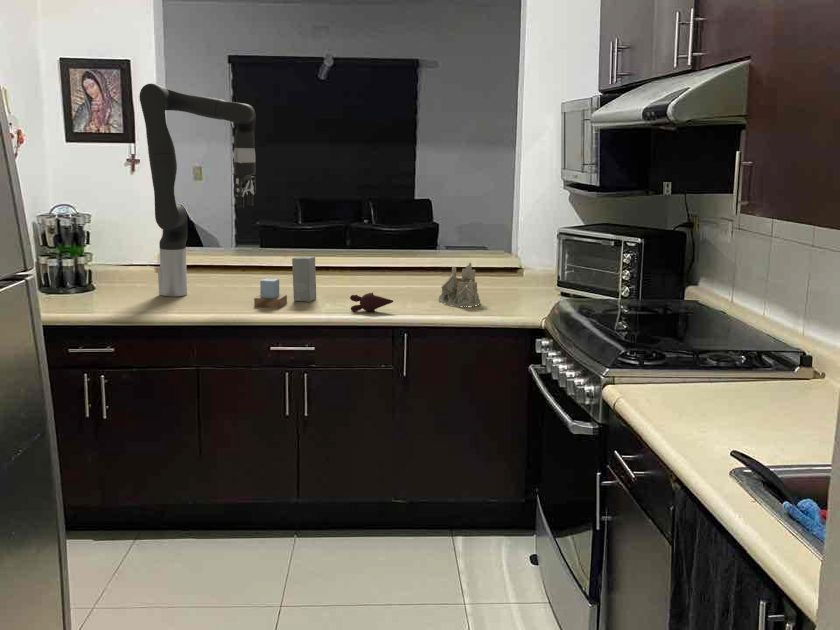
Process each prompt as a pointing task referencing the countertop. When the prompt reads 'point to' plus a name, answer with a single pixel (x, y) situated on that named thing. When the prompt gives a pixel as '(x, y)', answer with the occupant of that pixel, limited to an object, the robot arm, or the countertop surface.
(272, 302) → the walnut base
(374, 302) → the icecream
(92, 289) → the countertop surface
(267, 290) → the blue block
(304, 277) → the skincare box
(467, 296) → the ceramic cottage
